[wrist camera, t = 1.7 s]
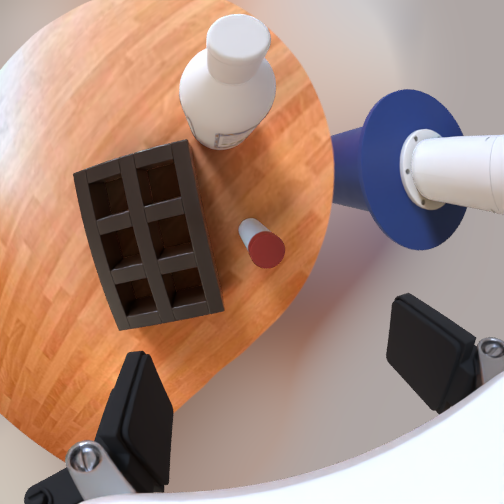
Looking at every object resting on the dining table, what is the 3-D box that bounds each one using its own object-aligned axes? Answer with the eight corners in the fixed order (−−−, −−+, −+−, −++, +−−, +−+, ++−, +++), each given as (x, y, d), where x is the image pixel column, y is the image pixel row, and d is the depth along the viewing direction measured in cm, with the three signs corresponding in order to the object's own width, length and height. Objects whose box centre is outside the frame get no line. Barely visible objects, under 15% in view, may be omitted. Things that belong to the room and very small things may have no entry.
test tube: (260, 215, 32) (282, 230, 22) (264, 239, 33) (287, 264, 23) (235, 220, 32) (247, 238, 22) (240, 244, 32) (253, 272, 23)
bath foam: (262, 112, 29) (336, 30, 10) (231, 161, 30) (267, 130, 11) (211, 83, 27) (218, -29, 8) (178, 132, 28) (131, 61, 9)
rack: (190, 145, 29) (187, 138, 24) (222, 293, 34) (224, 311, 29) (91, 173, 28) (72, 173, 23) (129, 311, 32) (119, 330, 28)
